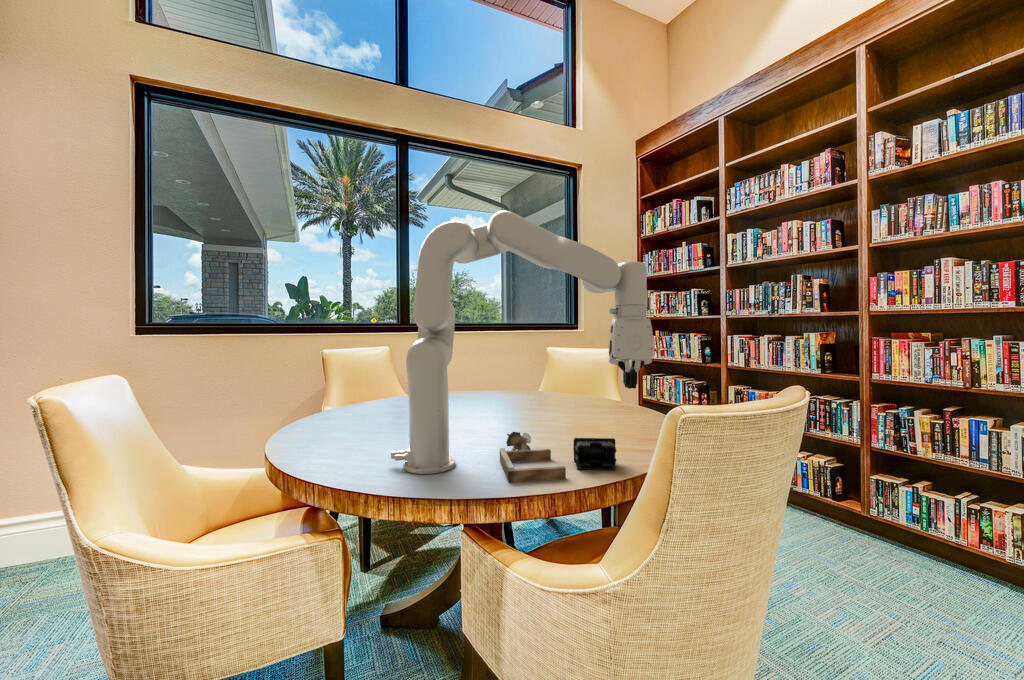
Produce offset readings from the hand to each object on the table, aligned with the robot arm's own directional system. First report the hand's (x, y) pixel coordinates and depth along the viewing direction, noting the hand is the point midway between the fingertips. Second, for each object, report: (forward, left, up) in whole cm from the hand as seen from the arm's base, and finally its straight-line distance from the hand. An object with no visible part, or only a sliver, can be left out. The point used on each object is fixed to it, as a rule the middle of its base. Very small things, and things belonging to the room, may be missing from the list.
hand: (630, 387), depth 109 cm
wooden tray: (-25, 0, -19) cm, 31 cm away
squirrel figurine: (-26, +13, -19) cm, 35 cm away
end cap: (-9, 0, -19) cm, 21 cm away
